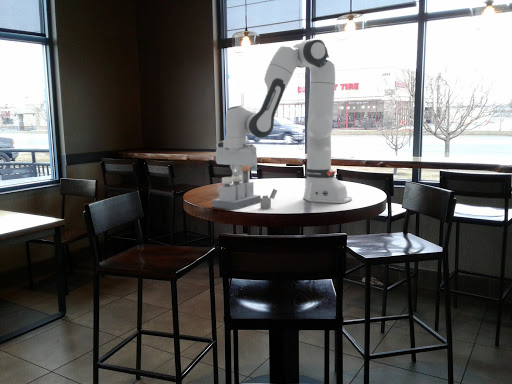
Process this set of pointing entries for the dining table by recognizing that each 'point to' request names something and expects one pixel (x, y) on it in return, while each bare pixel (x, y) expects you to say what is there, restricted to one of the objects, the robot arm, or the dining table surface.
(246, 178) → the knob
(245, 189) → the mount plate
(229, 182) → the knob
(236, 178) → the knob mid
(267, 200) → the lighter
